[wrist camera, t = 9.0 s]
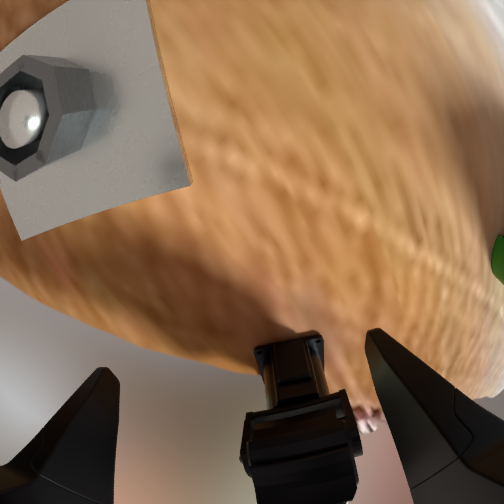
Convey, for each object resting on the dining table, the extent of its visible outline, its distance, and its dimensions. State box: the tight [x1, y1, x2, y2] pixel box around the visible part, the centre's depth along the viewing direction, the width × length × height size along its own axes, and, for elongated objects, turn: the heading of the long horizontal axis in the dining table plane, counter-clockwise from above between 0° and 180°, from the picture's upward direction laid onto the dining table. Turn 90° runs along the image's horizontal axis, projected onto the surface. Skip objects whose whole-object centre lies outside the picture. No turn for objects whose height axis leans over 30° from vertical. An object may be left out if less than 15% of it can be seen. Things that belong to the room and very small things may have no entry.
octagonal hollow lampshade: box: [0, 55, 98, 182], centre depth 11 cm, size 7×7×4 cm
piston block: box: [0, 0, 193, 241], centre depth 12 cm, size 16×16×5 cm
